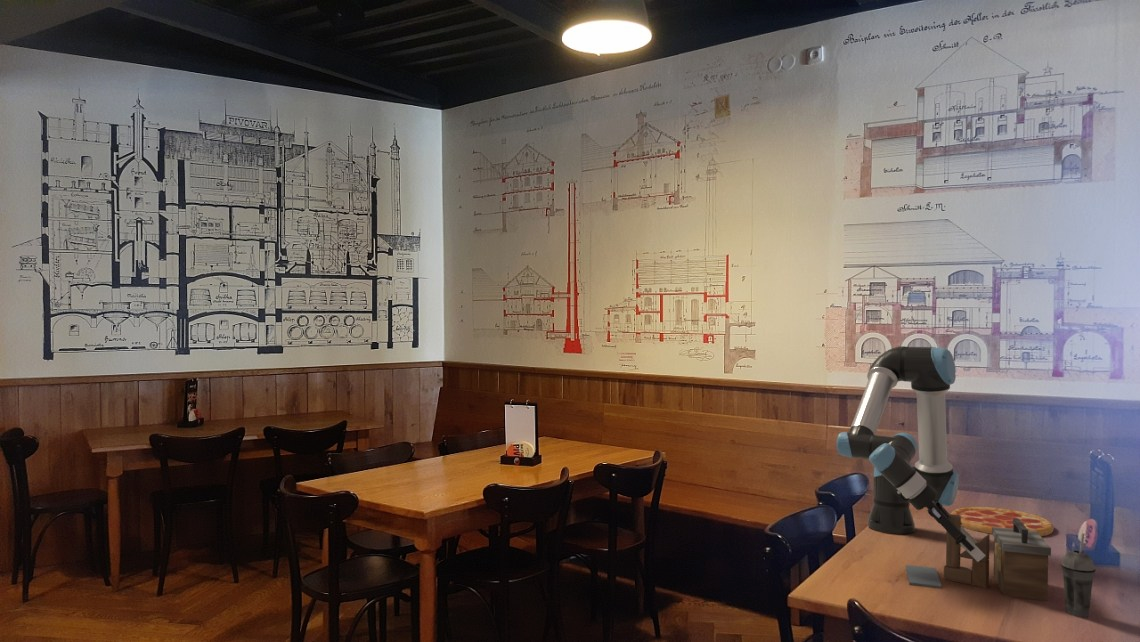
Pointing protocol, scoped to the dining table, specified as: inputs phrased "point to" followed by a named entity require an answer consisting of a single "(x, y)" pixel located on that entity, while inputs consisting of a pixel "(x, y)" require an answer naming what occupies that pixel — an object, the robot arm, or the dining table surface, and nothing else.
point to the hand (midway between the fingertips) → (978, 552)
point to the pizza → (1000, 519)
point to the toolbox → (1021, 562)
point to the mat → (923, 576)
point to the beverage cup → (1078, 581)
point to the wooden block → (979, 569)
